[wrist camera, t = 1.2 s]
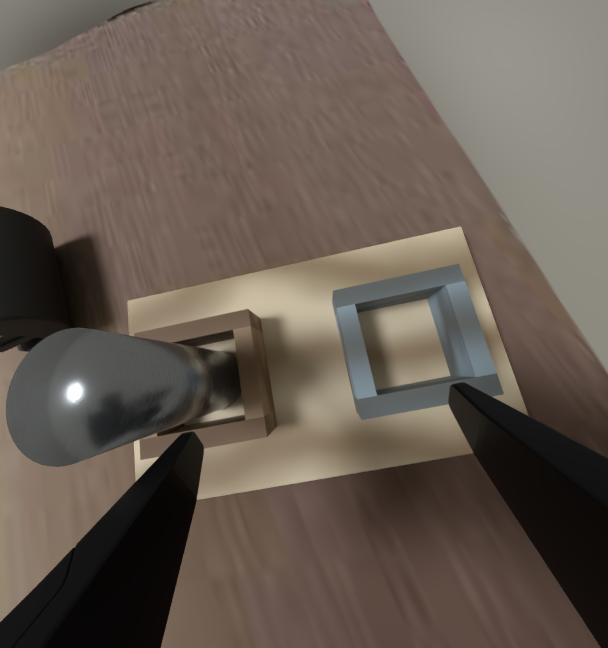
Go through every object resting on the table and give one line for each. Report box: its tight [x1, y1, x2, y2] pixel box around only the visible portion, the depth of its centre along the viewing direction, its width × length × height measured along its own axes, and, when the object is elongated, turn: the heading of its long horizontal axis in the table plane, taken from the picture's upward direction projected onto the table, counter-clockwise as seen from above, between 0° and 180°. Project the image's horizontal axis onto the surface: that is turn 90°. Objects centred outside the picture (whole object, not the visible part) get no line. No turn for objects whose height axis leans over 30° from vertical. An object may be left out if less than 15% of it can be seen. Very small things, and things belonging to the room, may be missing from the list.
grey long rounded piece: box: [6, 328, 241, 467], centre depth 13 cm, size 4×4×11 cm
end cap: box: [0, 206, 70, 352], centre depth 20 cm, size 10×7×7 cm
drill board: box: [128, 227, 529, 500], centre depth 18 cm, size 16×28×4 cm, turn 101°
